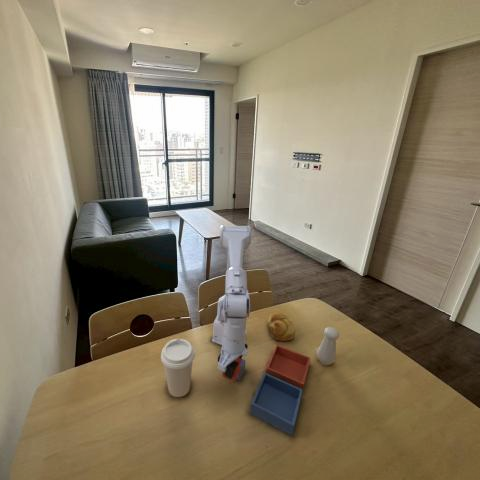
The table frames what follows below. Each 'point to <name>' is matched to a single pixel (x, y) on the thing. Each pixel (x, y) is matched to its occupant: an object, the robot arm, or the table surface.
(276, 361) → the red bin
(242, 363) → the blue block
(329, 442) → the table surface
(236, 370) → the red block
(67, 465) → the table surface
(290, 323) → the bread roll
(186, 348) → the coffee cup
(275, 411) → the blue bin
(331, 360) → the salt shaker
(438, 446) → the table surface
